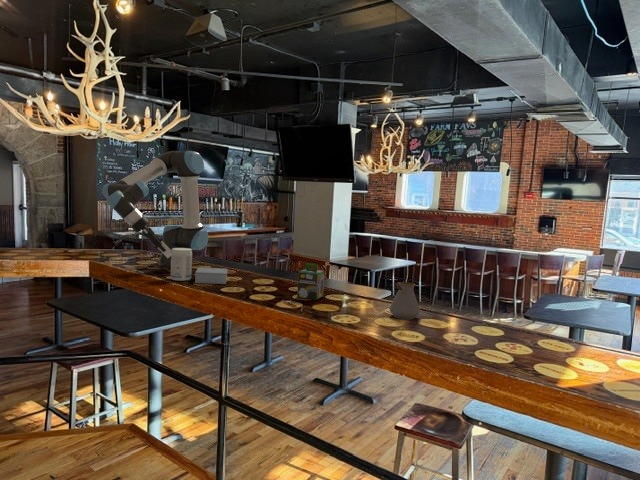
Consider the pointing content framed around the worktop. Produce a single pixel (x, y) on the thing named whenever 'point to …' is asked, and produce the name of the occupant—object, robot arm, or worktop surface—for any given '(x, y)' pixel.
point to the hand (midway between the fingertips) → (169, 254)
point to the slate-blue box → (211, 275)
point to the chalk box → (310, 283)
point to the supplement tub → (181, 264)
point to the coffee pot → (405, 302)
